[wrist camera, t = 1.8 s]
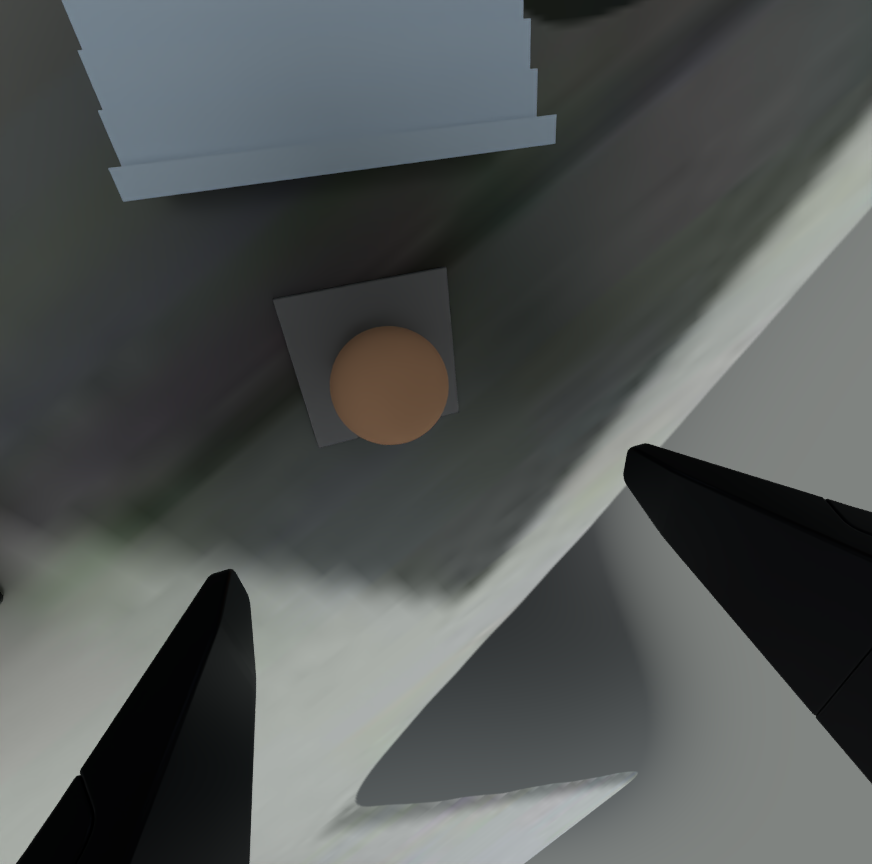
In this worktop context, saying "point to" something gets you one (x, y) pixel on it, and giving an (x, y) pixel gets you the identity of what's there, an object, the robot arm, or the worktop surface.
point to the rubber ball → (389, 385)
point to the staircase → (303, 86)
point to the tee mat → (353, 314)
